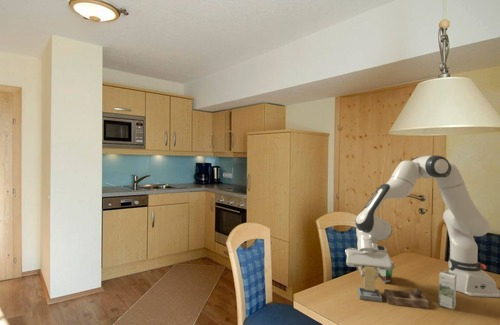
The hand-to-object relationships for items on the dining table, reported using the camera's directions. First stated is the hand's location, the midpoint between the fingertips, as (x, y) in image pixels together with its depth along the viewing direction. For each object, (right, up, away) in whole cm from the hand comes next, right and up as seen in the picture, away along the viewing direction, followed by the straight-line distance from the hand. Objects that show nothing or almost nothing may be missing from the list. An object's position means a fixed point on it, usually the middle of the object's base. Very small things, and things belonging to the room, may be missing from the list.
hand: (369, 276), depth 134 cm
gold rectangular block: (0, -6, +1) cm, 6 cm away
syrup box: (+31, -10, -7) cm, 34 cm away
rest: (0, -10, +1) cm, 10 cm away
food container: (+17, -9, +19) cm, 27 cm away
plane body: (+14, -10, -4) cm, 18 cm away
